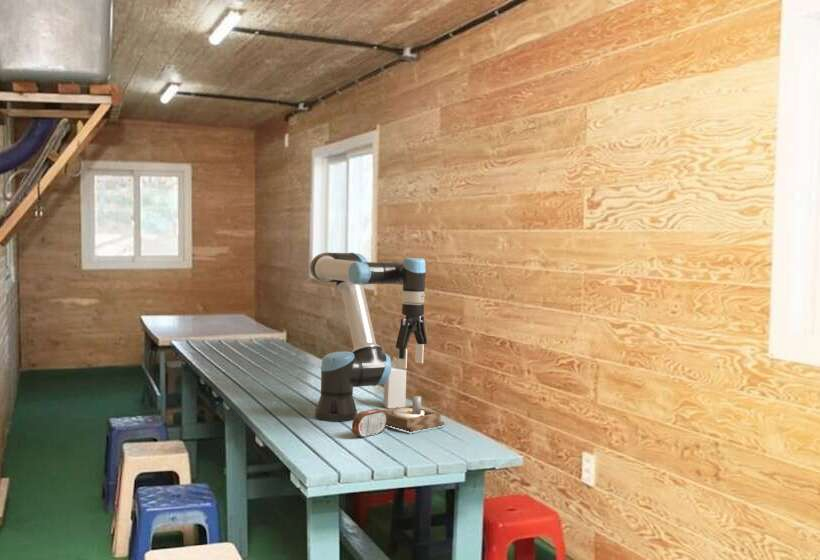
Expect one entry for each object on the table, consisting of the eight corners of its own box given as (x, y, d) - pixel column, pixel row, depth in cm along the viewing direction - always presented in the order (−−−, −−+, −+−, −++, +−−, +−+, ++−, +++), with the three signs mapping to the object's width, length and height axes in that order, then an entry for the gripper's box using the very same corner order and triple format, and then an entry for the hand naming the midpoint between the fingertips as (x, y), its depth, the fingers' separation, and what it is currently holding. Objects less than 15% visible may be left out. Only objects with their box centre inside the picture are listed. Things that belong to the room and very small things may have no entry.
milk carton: (387, 408, 294) (389, 360, 293) (383, 404, 301) (384, 357, 300) (405, 408, 296) (407, 359, 295) (400, 404, 303) (402, 357, 302)
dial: (386, 417, 270) (387, 393, 270) (409, 413, 278) (410, 390, 277) (407, 423, 262) (408, 399, 262) (430, 419, 269) (431, 395, 269)
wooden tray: (410, 434, 257) (411, 420, 257) (373, 422, 272) (373, 409, 272) (444, 427, 268) (444, 414, 268) (406, 416, 283) (406, 403, 282)
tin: (381, 430, 261) (382, 406, 261) (388, 432, 259) (389, 407, 259) (350, 438, 250) (351, 413, 249) (357, 440, 248) (358, 414, 247)
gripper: (407, 306, 246) (405, 371, 247) (437, 302, 269) (435, 361, 270) (386, 305, 249) (384, 369, 250) (418, 300, 272) (416, 359, 273)
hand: (410, 365), depth 260 cm, fingers open, 13 cm apart
